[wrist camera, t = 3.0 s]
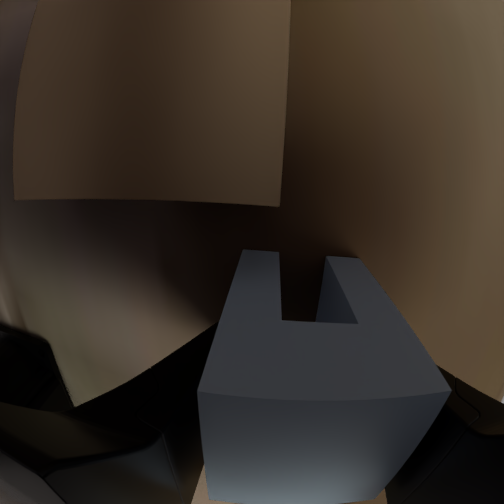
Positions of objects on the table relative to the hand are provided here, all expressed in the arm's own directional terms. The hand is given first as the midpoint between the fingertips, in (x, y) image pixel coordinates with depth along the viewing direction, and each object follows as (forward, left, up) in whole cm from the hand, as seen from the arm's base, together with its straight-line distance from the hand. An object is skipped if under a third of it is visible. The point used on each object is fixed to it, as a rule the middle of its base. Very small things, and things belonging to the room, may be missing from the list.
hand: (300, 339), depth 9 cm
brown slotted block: (-5, +14, -2) cm, 15 cm away
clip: (0, 0, -2) cm, 2 cm away
